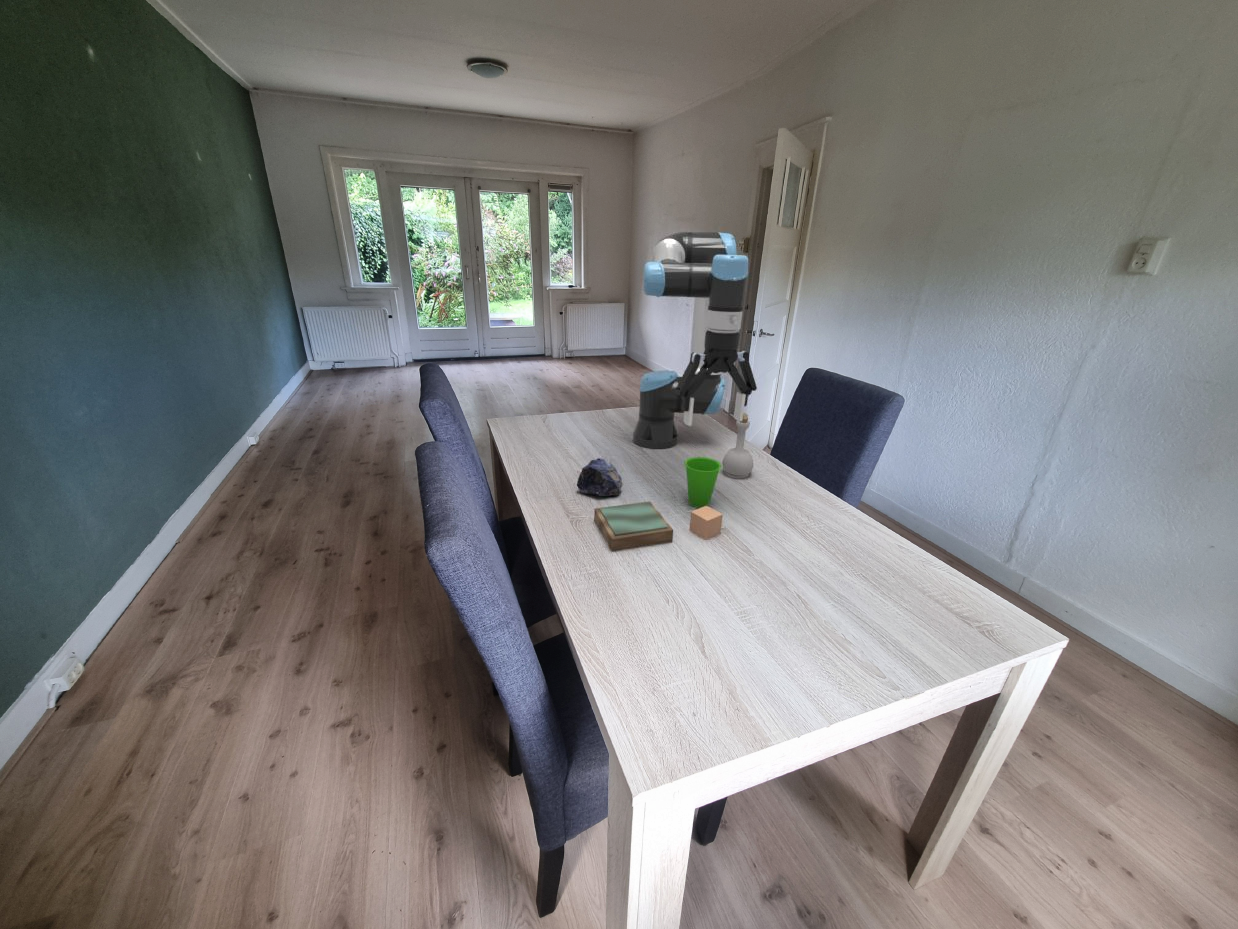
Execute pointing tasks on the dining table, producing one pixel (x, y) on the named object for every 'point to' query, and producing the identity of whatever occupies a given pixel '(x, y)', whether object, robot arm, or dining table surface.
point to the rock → (599, 478)
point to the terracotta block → (705, 522)
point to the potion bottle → (739, 454)
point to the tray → (632, 526)
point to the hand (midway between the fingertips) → (713, 421)
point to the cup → (701, 479)
